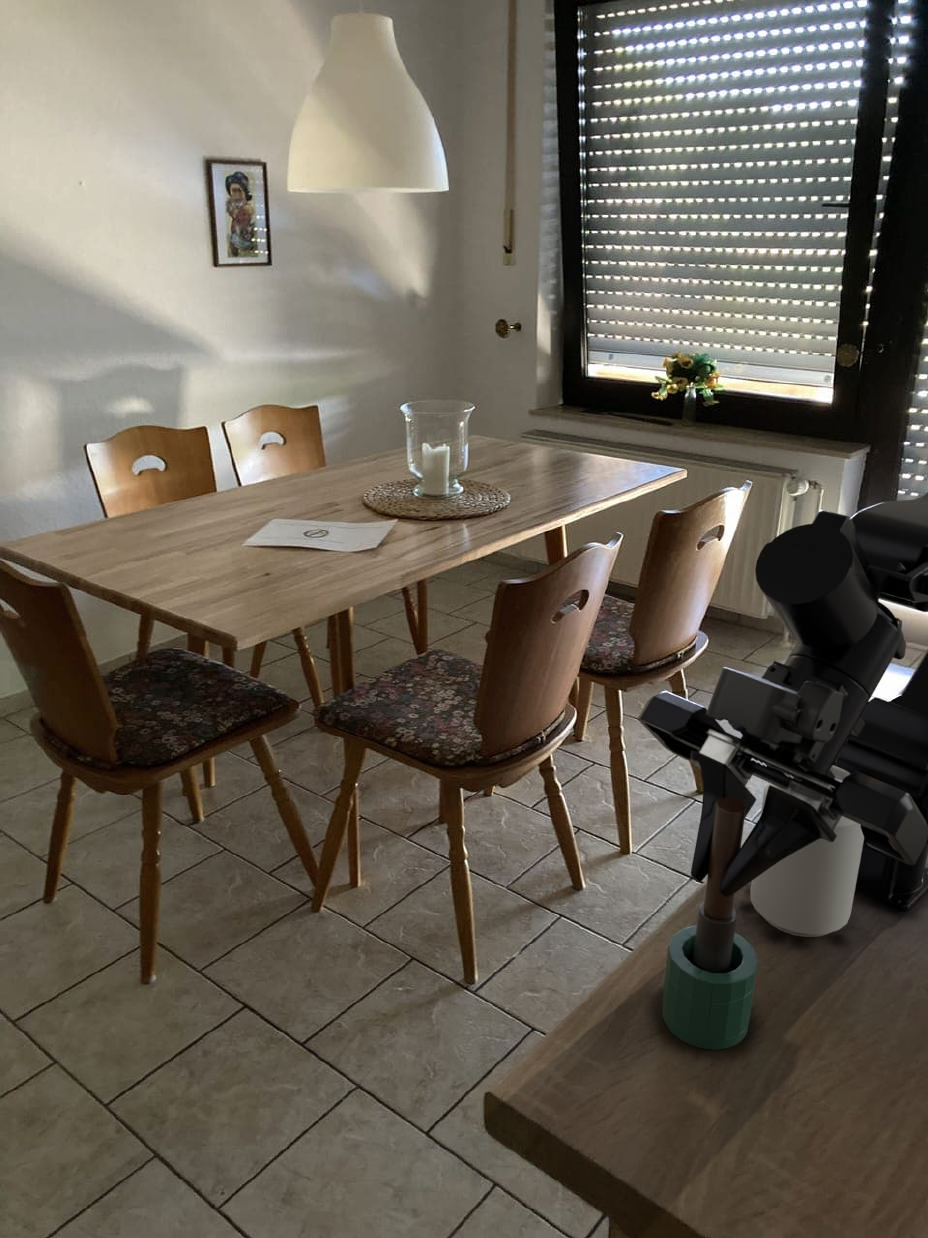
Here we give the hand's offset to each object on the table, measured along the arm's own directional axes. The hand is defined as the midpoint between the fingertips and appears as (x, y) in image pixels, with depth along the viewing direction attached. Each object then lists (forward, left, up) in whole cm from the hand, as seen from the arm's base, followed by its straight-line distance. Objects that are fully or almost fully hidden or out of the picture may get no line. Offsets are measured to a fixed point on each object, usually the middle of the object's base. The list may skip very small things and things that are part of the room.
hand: (708, 886), depth 65 cm
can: (-16, -1, -12) cm, 20 cm away
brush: (-1, 0, -7) cm, 7 cm away
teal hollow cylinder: (-1, 0, -11) cm, 12 cm away
